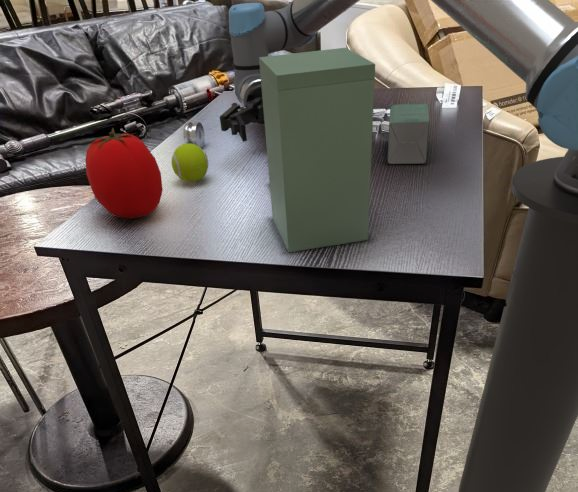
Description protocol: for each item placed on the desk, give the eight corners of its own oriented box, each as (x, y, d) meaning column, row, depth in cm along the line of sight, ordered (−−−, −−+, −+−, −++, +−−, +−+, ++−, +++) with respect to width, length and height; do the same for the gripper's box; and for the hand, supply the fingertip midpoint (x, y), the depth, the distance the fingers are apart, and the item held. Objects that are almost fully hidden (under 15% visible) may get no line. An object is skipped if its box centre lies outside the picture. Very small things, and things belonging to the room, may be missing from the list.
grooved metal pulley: (197, 151, 113) (193, 126, 109) (185, 150, 113) (180, 126, 110) (206, 143, 116) (202, 119, 113) (193, 143, 117) (189, 119, 114)
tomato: (152, 232, 84) (130, 145, 75) (85, 227, 87) (57, 143, 78) (182, 202, 92) (166, 121, 83) (120, 199, 95) (98, 120, 86)
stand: (368, 240, 77) (375, 63, 62) (288, 252, 76) (276, 75, 61) (344, 208, 86) (345, 47, 71) (272, 219, 84) (258, 57, 70)
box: (424, 141, 108) (428, 101, 104) (426, 164, 99) (430, 121, 94) (388, 141, 110) (390, 102, 105) (387, 165, 100) (389, 122, 95)
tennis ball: (171, 179, 101) (163, 143, 96) (204, 172, 103) (198, 136, 98) (181, 190, 96) (174, 152, 92) (216, 182, 98) (210, 145, 94)
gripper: (318, 112, 114) (347, 141, 98) (204, 127, 111) (215, 159, 95) (318, 73, 109) (348, 96, 93) (198, 87, 106) (209, 114, 90)
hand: (281, 128), depth 94 cm, fingers open, 13 cm apart
